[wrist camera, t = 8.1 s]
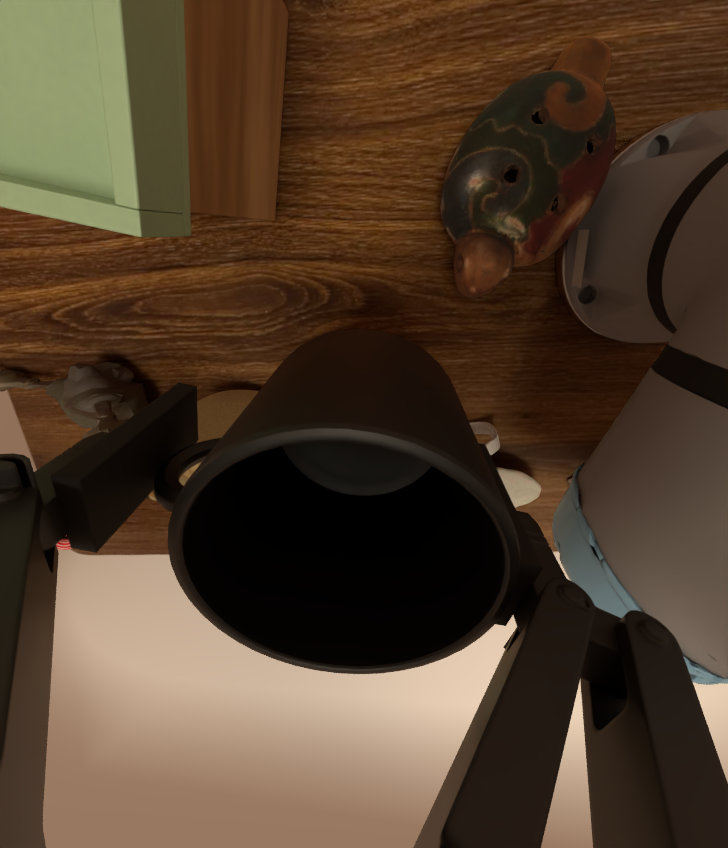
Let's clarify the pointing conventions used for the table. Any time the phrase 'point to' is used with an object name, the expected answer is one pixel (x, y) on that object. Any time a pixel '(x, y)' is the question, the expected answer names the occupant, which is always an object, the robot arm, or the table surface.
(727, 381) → the robot arm
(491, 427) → the white ring
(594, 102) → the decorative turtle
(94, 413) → the toy robot
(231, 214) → the tray stand
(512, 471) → the decorative stone
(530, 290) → the table surface
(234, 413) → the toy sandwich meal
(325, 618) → the mug
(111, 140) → the dish tray
